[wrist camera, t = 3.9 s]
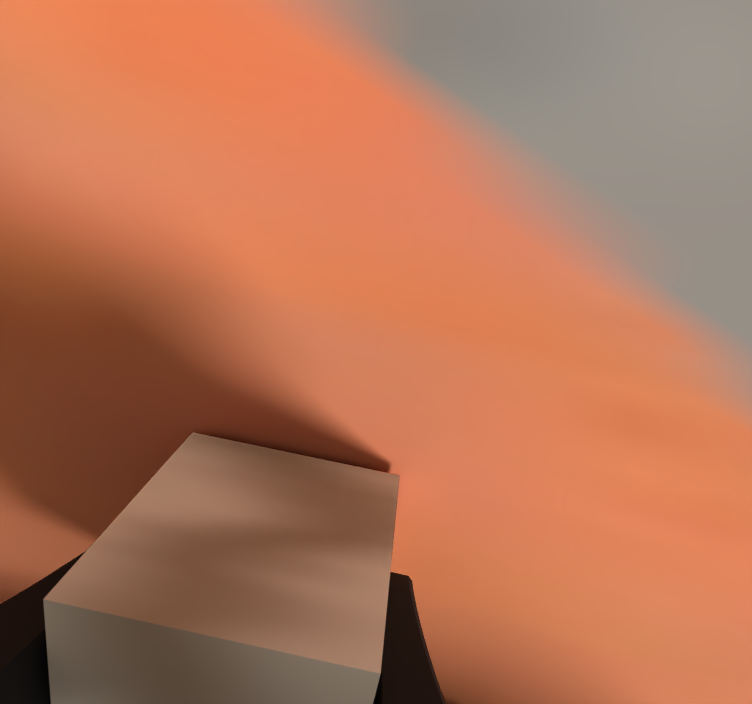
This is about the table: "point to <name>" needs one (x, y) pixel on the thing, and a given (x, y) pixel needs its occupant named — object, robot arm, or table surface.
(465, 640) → the table surface
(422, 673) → the robot arm
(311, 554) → the loose block
